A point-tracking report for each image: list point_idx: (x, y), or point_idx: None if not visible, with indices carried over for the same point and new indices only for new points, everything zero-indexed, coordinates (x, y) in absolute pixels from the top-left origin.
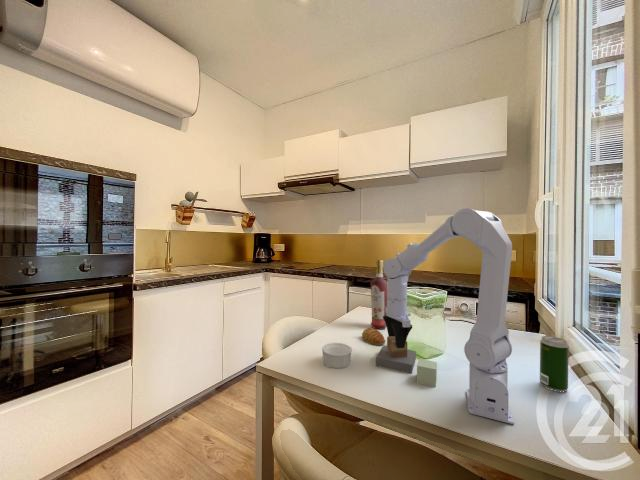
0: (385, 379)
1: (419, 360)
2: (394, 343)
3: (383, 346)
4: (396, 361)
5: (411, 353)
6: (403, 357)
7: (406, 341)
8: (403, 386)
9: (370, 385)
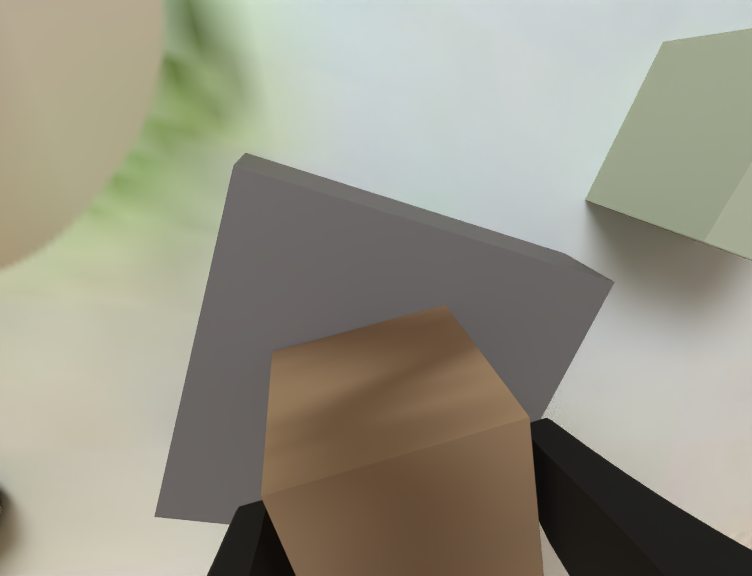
0: (628, 433)
1: (746, 243)
2: (537, 554)
3: (194, 513)
4: (544, 408)
5: (332, 240)
6: None
7: (507, 429)
8: (722, 336)
9: (678, 500)
